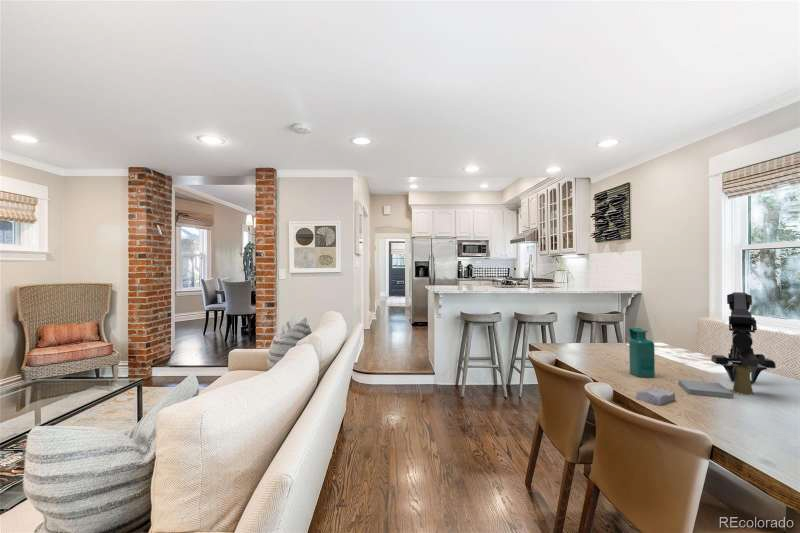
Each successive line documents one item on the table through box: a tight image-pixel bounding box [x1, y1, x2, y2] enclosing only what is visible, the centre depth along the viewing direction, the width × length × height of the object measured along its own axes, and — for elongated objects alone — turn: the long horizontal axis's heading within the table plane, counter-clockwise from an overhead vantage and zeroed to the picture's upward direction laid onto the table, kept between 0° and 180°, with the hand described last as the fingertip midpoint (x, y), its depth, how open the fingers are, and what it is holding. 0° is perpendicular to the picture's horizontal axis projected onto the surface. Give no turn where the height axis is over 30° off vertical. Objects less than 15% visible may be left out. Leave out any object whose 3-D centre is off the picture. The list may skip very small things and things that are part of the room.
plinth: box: [678, 379, 734, 399], centre depth 151 cm, size 14×14×2 cm
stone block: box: [636, 387, 676, 406], centre depth 142 cm, size 12×5×10 cm
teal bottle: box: [628, 327, 656, 378], centre depth 175 cm, size 10×8×22 cm
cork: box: [732, 365, 754, 395], centre depth 149 cm, size 6×6×11 cm
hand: (742, 382), depth 149 cm, fingers open, 6 cm apart
